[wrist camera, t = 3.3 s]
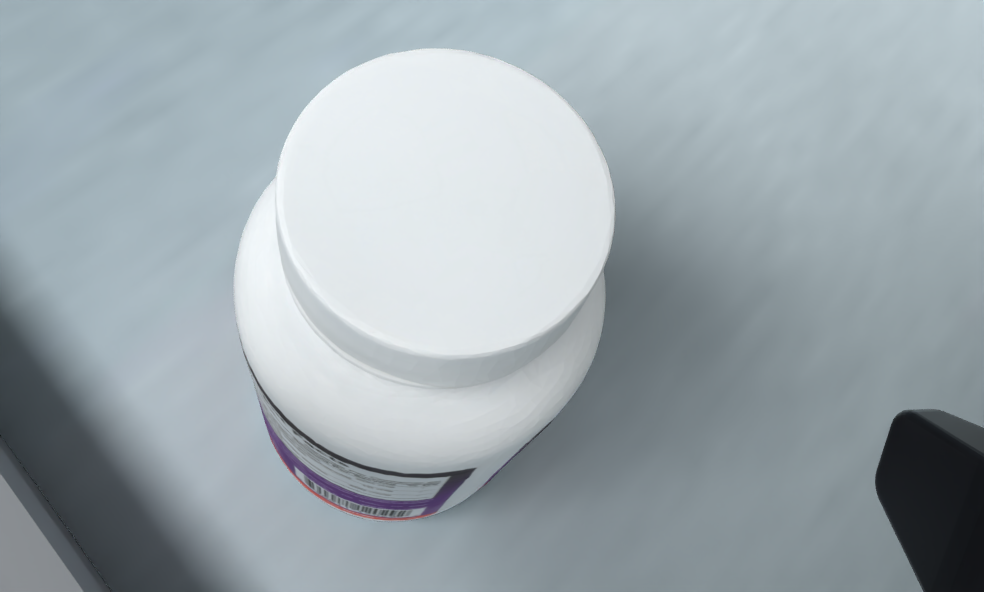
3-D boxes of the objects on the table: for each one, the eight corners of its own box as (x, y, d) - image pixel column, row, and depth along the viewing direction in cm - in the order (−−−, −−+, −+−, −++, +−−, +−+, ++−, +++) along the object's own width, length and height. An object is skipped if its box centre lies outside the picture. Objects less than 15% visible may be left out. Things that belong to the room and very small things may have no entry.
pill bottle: (439, 239, 21) (528, -59, 12) (562, 444, 20) (765, 285, 11) (216, 345, 19) (124, 90, 10) (337, 576, 18) (354, 519, 9)
